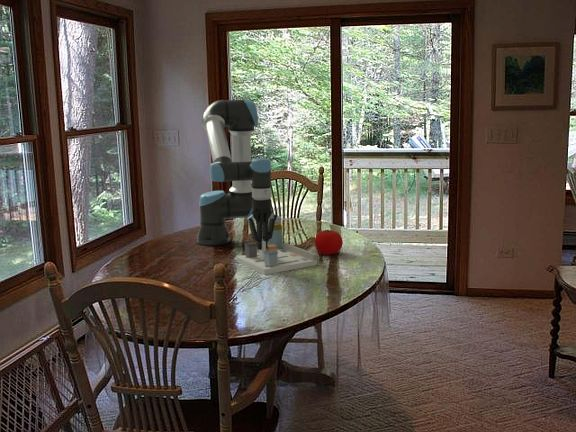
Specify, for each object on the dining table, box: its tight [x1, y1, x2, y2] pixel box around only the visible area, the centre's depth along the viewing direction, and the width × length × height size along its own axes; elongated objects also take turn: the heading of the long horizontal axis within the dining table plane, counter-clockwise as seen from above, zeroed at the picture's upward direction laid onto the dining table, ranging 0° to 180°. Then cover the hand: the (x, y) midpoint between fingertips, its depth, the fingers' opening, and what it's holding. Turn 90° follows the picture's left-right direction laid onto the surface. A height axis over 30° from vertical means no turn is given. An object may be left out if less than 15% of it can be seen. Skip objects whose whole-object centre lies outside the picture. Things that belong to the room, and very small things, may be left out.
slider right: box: [264, 250, 278, 266], centre depth 230 cm, size 4×4×5 cm
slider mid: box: [266, 244, 278, 259], centre depth 239 cm, size 4×4×5 cm
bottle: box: [267, 215, 283, 250], centre depth 260 cm, size 7×7×15 cm
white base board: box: [235, 242, 318, 276], centre depth 240 cm, size 23×24×4 cm
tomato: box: [314, 229, 343, 256], centre depth 253 cm, size 12×12×10 cm
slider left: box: [243, 241, 258, 257], centre depth 243 cm, size 4×4×5 cm
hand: (262, 257), depth 237 cm, fingers closed
